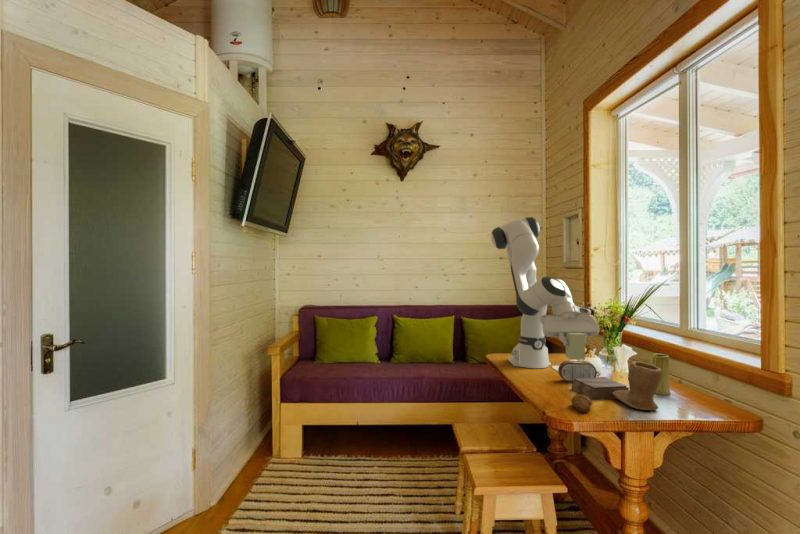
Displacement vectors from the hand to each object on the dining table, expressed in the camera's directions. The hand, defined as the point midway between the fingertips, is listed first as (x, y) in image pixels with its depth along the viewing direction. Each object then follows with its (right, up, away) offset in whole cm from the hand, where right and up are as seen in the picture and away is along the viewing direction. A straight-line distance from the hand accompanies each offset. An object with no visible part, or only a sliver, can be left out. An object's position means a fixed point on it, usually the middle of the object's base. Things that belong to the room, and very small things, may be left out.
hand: (575, 344), depth 158 cm
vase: (+35, -19, +6) cm, 40 cm away
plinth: (+12, -19, +6) cm, 23 cm away
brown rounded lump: (-2, -20, -11) cm, 23 cm away
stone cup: (+18, -20, -9) cm, 28 cm away
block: (0, -5, +1) cm, 5 cm away
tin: (+10, -20, +22) cm, 31 cm away
